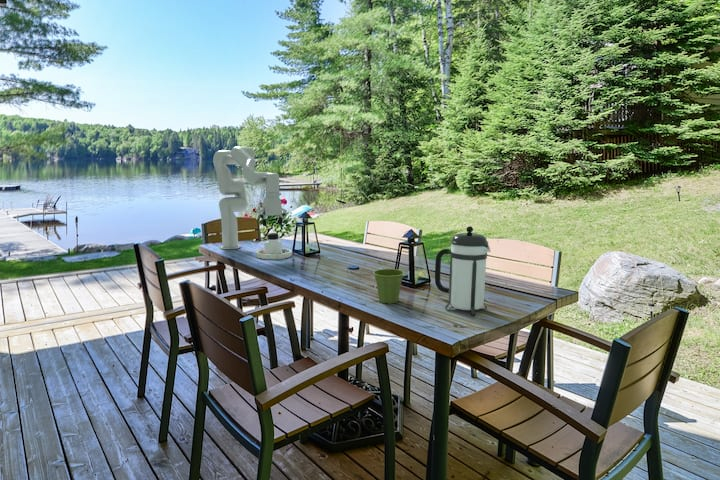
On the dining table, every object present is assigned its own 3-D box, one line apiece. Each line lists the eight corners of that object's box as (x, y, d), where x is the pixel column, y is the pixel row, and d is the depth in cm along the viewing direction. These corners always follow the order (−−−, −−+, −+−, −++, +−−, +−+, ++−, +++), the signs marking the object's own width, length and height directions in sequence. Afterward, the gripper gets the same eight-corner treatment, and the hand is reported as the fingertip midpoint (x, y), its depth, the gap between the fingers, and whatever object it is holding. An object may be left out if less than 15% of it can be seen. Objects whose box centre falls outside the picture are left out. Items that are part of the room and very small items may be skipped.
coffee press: (479, 302, 163) (483, 223, 158) (493, 316, 148) (498, 229, 143) (433, 302, 163) (436, 223, 158) (442, 316, 147) (446, 229, 142)
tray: (250, 254, 250) (250, 249, 250) (281, 251, 262) (281, 246, 262) (265, 260, 234) (265, 255, 234) (297, 256, 246) (297, 251, 246)
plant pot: (384, 294, 173) (385, 267, 171) (410, 300, 165) (410, 271, 163) (366, 301, 164) (366, 272, 162) (392, 307, 156) (392, 277, 154)
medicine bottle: (282, 253, 249) (281, 233, 247) (273, 255, 243) (272, 234, 242) (273, 252, 253) (272, 232, 251) (264, 254, 247) (263, 233, 246)
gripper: (283, 194, 251) (283, 223, 254) (255, 195, 241) (255, 225, 244) (289, 195, 245) (289, 225, 248) (260, 196, 235) (261, 227, 238)
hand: (272, 225), depth 246 cm, fingers open, 9 cm apart
